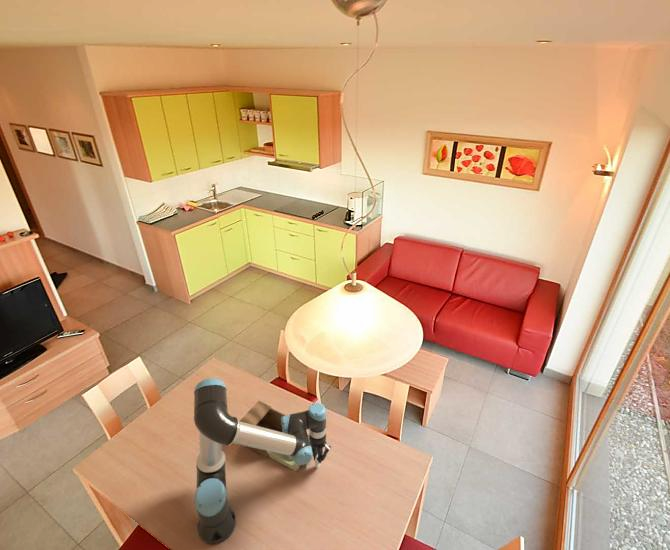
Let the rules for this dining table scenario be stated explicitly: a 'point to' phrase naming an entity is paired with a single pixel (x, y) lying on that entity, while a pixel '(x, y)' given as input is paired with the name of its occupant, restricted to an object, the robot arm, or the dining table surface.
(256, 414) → the cubby
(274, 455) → the tray
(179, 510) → the dining table surface
